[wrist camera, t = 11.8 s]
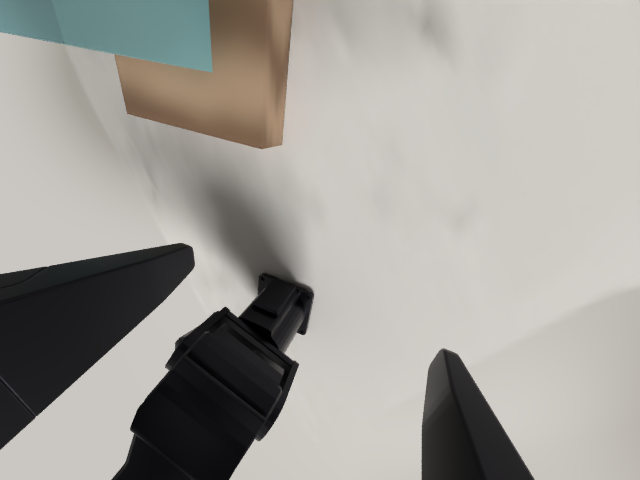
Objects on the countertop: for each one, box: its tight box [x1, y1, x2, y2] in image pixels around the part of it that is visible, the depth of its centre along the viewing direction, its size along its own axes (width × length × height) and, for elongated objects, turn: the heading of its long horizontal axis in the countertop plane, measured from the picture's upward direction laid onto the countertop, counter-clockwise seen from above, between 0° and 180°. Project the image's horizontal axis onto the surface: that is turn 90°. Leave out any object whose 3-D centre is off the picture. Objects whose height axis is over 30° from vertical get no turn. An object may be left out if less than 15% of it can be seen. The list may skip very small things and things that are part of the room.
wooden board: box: [114, 0, 293, 149], centre depth 17 cm, size 13×13×3 cm
